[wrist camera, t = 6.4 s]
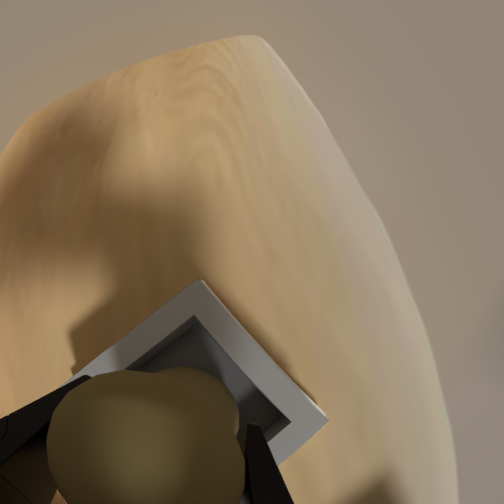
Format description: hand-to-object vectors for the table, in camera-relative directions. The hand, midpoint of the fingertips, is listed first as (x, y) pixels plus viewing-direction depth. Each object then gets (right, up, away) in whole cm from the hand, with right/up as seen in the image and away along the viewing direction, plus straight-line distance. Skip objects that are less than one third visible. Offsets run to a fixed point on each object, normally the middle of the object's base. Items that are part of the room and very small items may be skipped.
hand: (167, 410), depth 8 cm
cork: (-1, -4, +6) cm, 7 cm away
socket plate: (-1, -5, +9) cm, 10 cm away
